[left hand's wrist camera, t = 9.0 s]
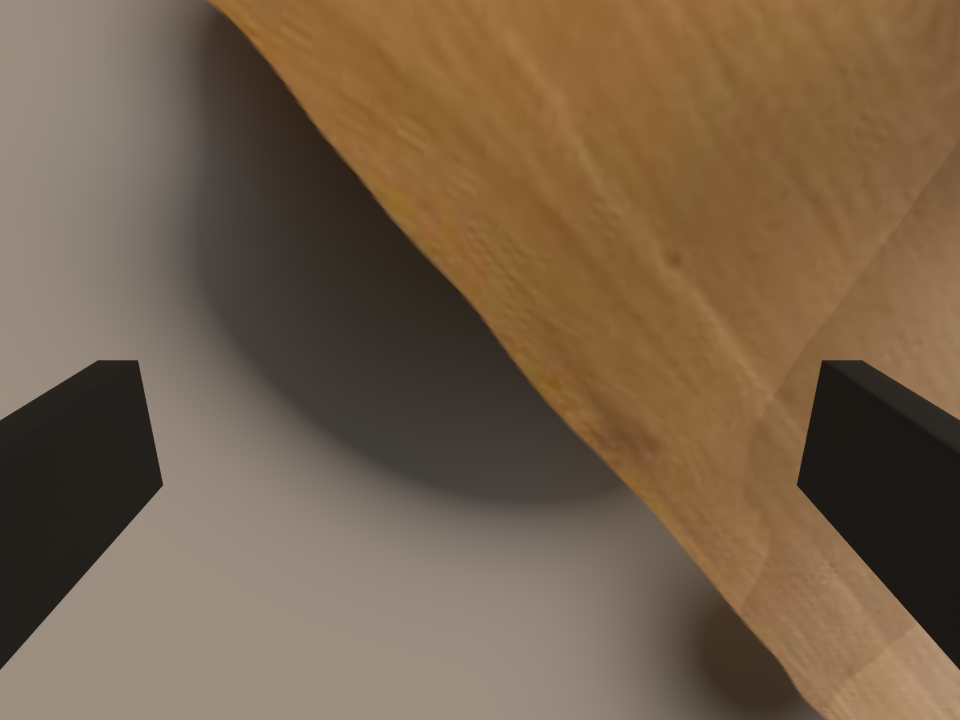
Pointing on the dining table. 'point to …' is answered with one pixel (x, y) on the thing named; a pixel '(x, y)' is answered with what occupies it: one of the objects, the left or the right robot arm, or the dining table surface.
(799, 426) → the dining table surface
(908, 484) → the left robot arm
